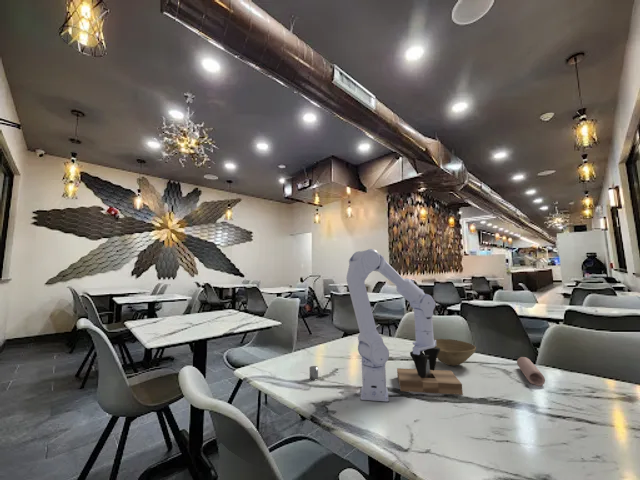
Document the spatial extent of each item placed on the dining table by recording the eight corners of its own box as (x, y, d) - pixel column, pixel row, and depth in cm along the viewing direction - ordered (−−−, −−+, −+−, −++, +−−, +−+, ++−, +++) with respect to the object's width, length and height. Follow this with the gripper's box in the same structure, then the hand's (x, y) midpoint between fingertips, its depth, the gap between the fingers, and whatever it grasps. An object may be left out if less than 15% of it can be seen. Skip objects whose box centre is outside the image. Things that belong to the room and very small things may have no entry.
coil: (545, 373, 89) (531, 357, 105) (527, 369, 91) (516, 355, 107) (545, 388, 88) (531, 370, 104) (527, 384, 90) (516, 367, 106)
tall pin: (428, 387, 90) (427, 361, 91) (419, 385, 91) (418, 359, 92) (432, 384, 92) (430, 359, 93) (423, 382, 94) (421, 357, 95)
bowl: (473, 376, 98) (471, 352, 99) (420, 366, 109) (419, 345, 110) (480, 362, 113) (479, 342, 114) (433, 355, 124) (432, 336, 125)
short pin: (317, 381, 97) (317, 368, 97) (308, 380, 97) (308, 368, 98) (318, 377, 100) (318, 366, 100) (310, 377, 100) (310, 365, 101)
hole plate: (462, 394, 84) (461, 384, 84) (400, 391, 87) (400, 380, 87) (451, 379, 95) (451, 370, 96) (397, 377, 99) (397, 368, 99)
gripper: (421, 325, 101) (423, 364, 100) (402, 331, 91) (405, 375, 89) (441, 327, 97) (444, 368, 95) (424, 334, 86) (426, 381, 84)
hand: (426, 372), depth 92 cm, fingers open, 7 cm apart
